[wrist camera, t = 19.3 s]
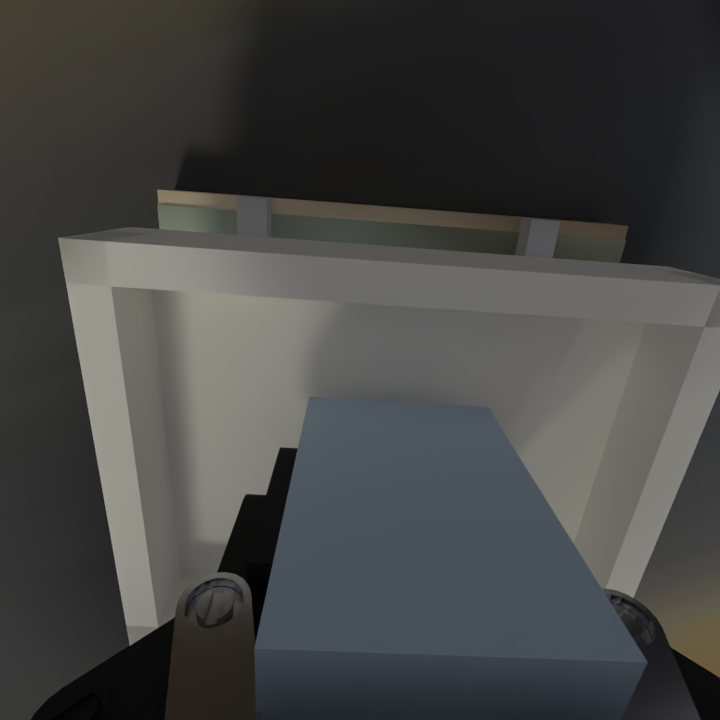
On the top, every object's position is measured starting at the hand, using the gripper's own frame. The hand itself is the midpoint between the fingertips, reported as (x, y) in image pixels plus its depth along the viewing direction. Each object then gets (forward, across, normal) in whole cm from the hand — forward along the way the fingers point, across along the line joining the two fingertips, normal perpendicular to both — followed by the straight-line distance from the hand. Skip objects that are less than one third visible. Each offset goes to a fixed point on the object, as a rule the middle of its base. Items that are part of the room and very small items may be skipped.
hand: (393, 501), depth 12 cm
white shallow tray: (+5, 0, 0) cm, 5 cm away
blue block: (+1, 0, 0) cm, 1 cm away
